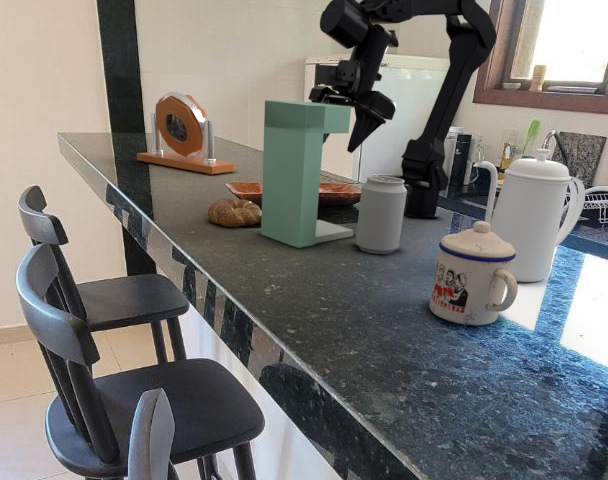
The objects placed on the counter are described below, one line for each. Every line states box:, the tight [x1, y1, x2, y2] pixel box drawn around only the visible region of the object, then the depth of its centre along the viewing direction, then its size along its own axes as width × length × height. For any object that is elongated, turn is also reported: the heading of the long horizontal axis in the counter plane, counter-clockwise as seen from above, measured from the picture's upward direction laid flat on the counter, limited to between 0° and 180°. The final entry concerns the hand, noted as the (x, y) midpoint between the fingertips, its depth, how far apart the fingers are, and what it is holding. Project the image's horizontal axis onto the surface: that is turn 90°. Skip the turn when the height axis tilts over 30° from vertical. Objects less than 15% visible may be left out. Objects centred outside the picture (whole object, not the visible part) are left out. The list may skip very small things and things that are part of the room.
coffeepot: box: [472, 148, 586, 283], centre depth 81 cm, size 11×25×19 cm, turn 117°
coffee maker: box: [260, 99, 354, 249], centre depth 93 cm, size 14×10×22 cm
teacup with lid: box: [429, 220, 519, 326], centre depth 65 cm, size 12×9×12 cm
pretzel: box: [207, 197, 262, 228], centre depth 103 cm, size 12×11×4 cm
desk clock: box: [136, 91, 236, 176], centre depth 154 cm, size 12×30×20 cm, turn 58°
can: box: [355, 175, 408, 255], centre depth 90 cm, size 8×8×12 cm
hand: (333, 148), depth 99 cm, fingers open, 9 cm apart
